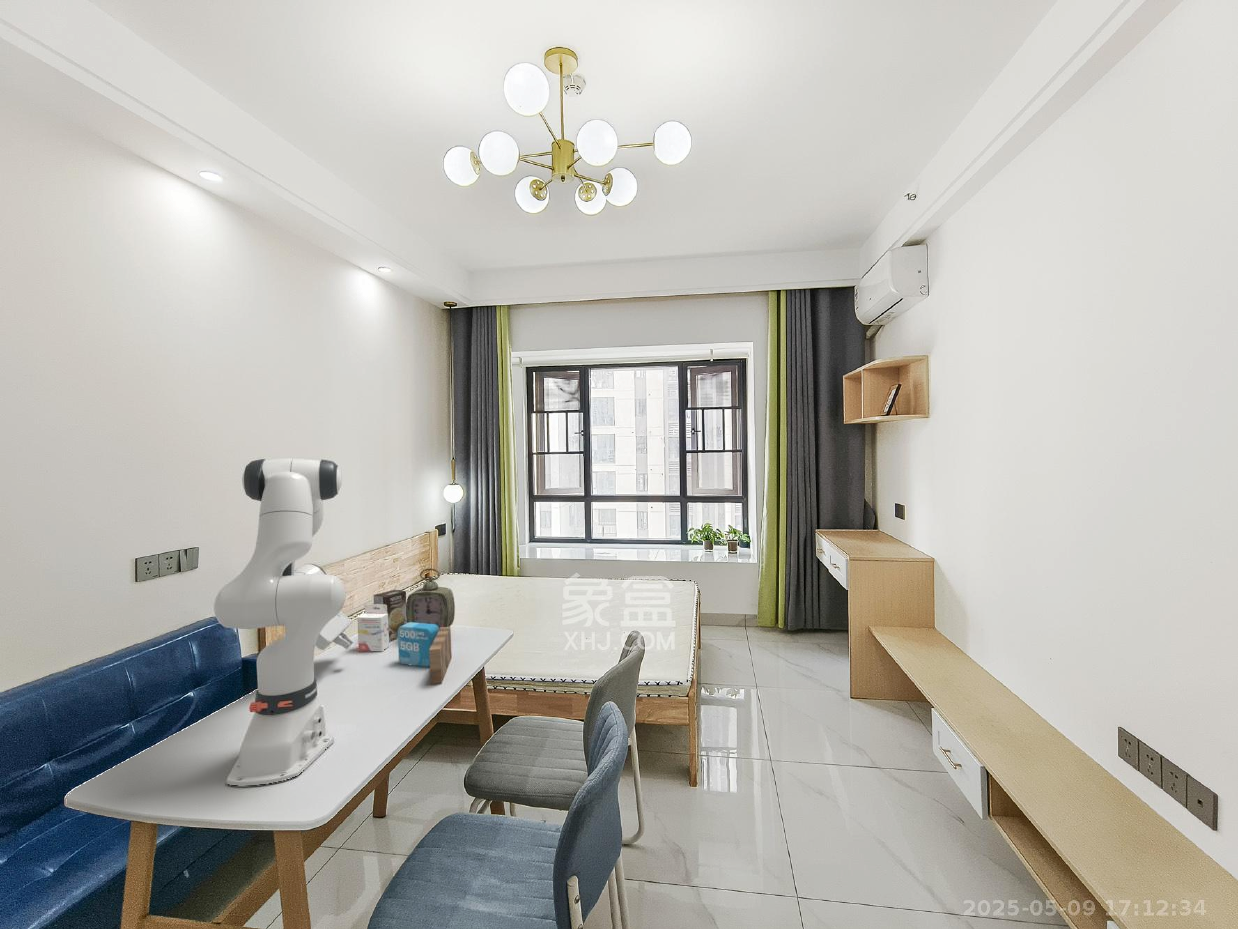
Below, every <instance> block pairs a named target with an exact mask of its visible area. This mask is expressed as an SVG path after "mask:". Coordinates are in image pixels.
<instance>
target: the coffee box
mask: <svg viewBox="0 0 1238 929" xmlns="http://www.w3.org/2000/svg"><path fill="white" fill-rule="evenodd" d="M372 595H373V604H380V605H387V613H388V629H389V641H390V642H392V641H391V640H393V639H395V640H398V639H397V638H398V628H399V627H401V626H403V625H405V624H407V617H406V603H407V591H406V590H401V589H392V590H387V591H384V592H380V593H377V594H372ZM373 609H378V610H379V609H380V608H377V607H375V608H373ZM393 641H394V640H393Z"/></svg>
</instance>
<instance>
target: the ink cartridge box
mask: <svg viewBox="0 0 1238 929" xmlns="http://www.w3.org/2000/svg"><path fill="white" fill-rule="evenodd" d="M363 606H364V613H362V614H361V615H359V616H357V642H358V644H357V647H358V652H359V651H383V652H384V651H385V650H384V649H385V648H387V647H388V646H389V647H390V642H389V629H388V613H387V605H380V604H374V603H373V604H372V603H371V604H370V603H367V604H366V603H365V604H364V605H363ZM375 607H377V608H380V609H379V610H378V609H374V608H375ZM389 647H388V648H389ZM388 648H387V649H388Z"/></svg>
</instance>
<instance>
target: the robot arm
mask: <svg viewBox="0 0 1238 929" xmlns="http://www.w3.org/2000/svg"><path fill="white" fill-rule="evenodd" d="M241 477H242V478H241V482H242V487H243V489H244V493H245V495H246V496H247V497H249V498H250V499H251V500H254V501H257V502H260V506H259V513H258V515H259V516H258V527H257V534H256V535H257V537H256V542H255V547H254V551H253V554H252V556H251V558H250V560H249V562H248V563H247V565H246V566H245V568H243V569H242V571H241V572H240V573H239V574H238V575H237V576H236V577H235V578H234V579H232V580H231V581H230V582H228V583H227V584H225V585H224V586H223V587H222V588H221V589H220V591H218V593H217V595H216V597H215V600H214V604H213V612H214V616H215V618H216V619H217V621H218V623H219V625H221V626H222V627H224V628H229V629H241V630H253V629H254V630H255V629H263V628H272V627H285V634H284V635H283V636H281V637H280V638H278V639H276V640H274V641H272V642H270V643H269V644H267V645H266V646H265V647H264V648H263V649H262V650H260V652H259V653H258V656H257V657H256V675H257V677H256V679H257V680H256V681H257V690H256V692H255V697H254V701H251V702H250V704H249V709H248V710H249V712H250V713H253V716H252V718H251V720H250V722H249V725H248V728H247V730H246V733H245V735H244V737H243V741H242V742H241V746H240V749H239V756H238V757H237V759H236V761H235V763H234V765H233V767H232V769H231V771H230V772H229V774H228V775H227V778H226V784H227V785H228V784H231V785H238V786H237V787H246V786H245V785H257V786H259V785H258V784H266V785H270V784H269V783H272V784H274V783H273V782H276V781H282V780H284V779H288V778H292V777H295V776H297V775H299V774H300V773H301V772H302V773H303V772H304V771H306V769H307V768H309V766H311V765H312V763H314V762H315V760H316V759H318V758H319V756H321V755H322V754H323V753H324V752H325V751H326V750H327V749H328V748H329V747H330V746H331V745H332V744H333V743H334V742H335V736H334V735H332V734H329V733H328V727H327V719H326V709H325V706H324V705H323V704H322V703H321V702H320V701H319V700H318V698H317V696H318V684H317V679H316V678H315V665H314V663H315V660H314V659H315V648H317V649H319V650H320V651H324V650H326V649H327V648H328V647H329V646H330V645H331V644H332V643H333V642H334V644H335V645H338V646H340V647H342V648H344V649H345V650H349V648H350V647H351V646H352V645H353V644H354V641H353V640H352V639H351V638H350V637H349V635H348V633H347V631H346V630H347V629H348V628H349V627H350V625H351V624H352V620H351V619H350V618H349V617H348V616H347V615H346V614H345V613H344V612H343V611H342V610H343V607H344V605H345V601H346V589H345V586H344V584H343V582H342V580H341V579H340V578H339V577H338V576H336V575H333V574H327V573H326V571H325V570H324V569H323V568H322V567H321V566H319V565H317V564H316V563H315V564H314V563H305V564H304V565H302V566H299V567H298V568H296V569H295V564H296V561H298V560H299V559H302V558H303V557H304V556H306V555H307V554H308V553H309V552H310V550H311V548H312V546H313V537H314V536H315V535H316V534H317V532H319V531H320V529H321V527H322V524H323V519H324V504H323V503H324V502H323V501H327V500H330V499H334V498H335V497H336V496H337V495H338V494H339V491H340V488H341V486H342V481H343V479H342V477H343V476H342V474H341V470H340V469H339V465H338V464H336V463H335V461H333V460H328V459H321V460H319V459H318V460H317V459H310V458H309V459H308V458H307V459H306V458H294V457H289V458H288V457H285V458H272V459H265V458H259V459H256V460H252V461H250V462H249V463H248V464H247V465H246V466H245V468H244V471H243V474H242V476H241ZM345 631H346V632H345ZM327 747H328V748H327ZM325 749H326V750H325ZM303 770H304V771H303ZM302 773H301V774H302ZM301 774H300V775H301ZM300 775H299V776H300ZM297 777H298V776H297ZM295 778H296V777H295ZM292 779H293V778H292ZM282 782H283V781H282ZM231 785H230V786H231Z"/></svg>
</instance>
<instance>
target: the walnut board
mask: <svg viewBox="0 0 1238 929" xmlns="http://www.w3.org/2000/svg"><path fill="white" fill-rule="evenodd" d="M451 634H452V630H451V626H450V627H441V628H440V630H439V632H438V634H437V636H436V638H435V639H434V641H433V643H432V645H431V647H430V649H429V656H430V667H429V676H430V677H429V678H430V685H442V683H443V681H444V679H445V676H446V673H447V671H448V668H449V666H450V664H451V661H452V654H453V653H452V635H451Z"/></svg>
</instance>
